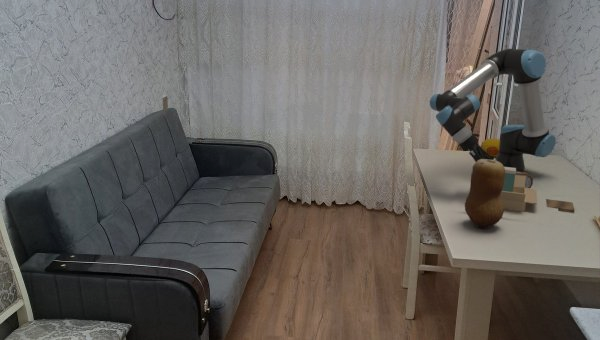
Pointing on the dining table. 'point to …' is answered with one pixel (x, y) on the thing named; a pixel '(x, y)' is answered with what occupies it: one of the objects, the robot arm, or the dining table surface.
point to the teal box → (509, 179)
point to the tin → (528, 178)
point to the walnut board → (561, 205)
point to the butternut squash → (485, 193)
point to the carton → (518, 195)
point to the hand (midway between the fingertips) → (499, 178)
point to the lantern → (491, 146)
